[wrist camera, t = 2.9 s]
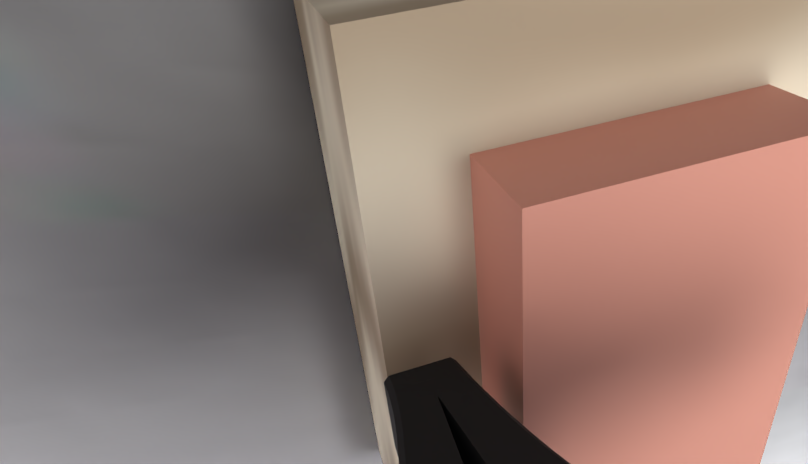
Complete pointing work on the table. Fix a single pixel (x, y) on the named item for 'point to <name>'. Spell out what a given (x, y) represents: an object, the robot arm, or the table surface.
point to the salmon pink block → (647, 279)
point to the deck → (491, 129)
